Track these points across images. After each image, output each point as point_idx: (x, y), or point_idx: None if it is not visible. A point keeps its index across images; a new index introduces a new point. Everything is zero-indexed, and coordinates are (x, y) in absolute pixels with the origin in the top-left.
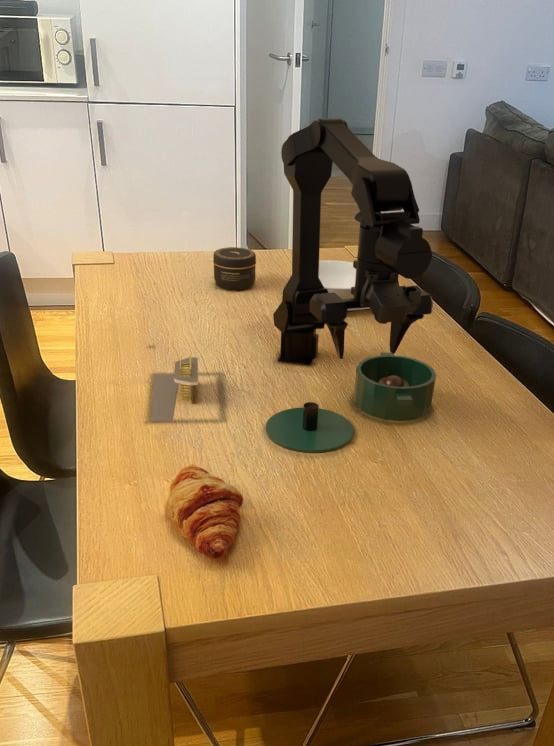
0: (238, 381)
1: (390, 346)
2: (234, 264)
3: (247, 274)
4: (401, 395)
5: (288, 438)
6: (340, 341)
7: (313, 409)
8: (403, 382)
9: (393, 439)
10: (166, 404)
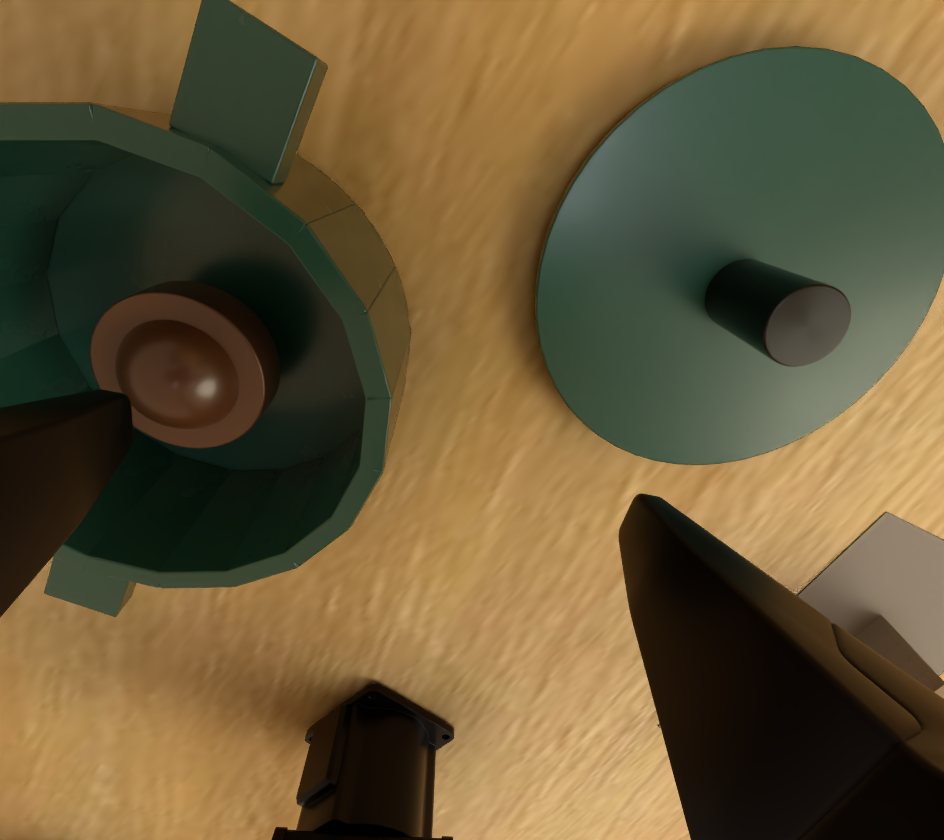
0: (645, 680)
1: (103, 475)
2: None
3: None
4: (254, 109)
5: (889, 255)
6: (811, 623)
7: (829, 285)
8: (122, 343)
9: (416, 10)
10: (924, 650)
